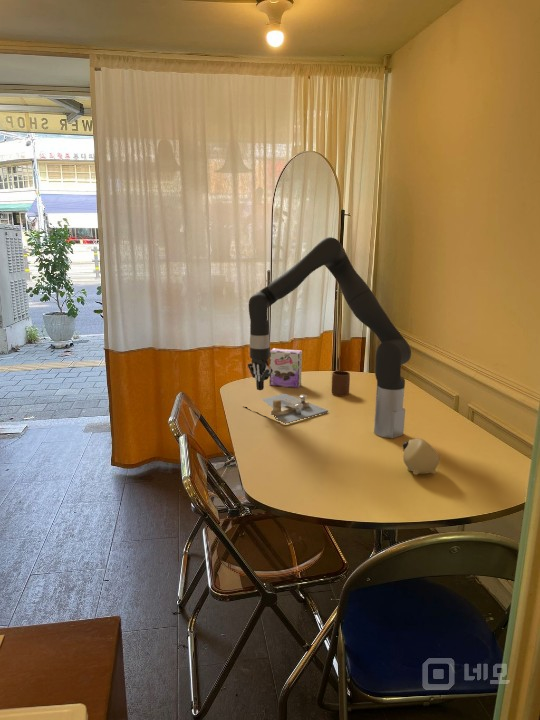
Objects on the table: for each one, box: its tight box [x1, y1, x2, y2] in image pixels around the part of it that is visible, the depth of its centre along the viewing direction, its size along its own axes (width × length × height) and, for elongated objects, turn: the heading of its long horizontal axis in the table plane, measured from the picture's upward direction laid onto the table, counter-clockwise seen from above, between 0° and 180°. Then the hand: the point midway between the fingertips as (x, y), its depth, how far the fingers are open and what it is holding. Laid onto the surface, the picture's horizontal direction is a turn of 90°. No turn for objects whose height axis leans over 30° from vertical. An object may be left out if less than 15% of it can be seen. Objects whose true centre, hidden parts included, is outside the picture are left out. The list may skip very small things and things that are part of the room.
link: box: [271, 399, 310, 417], centre depth 193 cm, size 18×5×6 cm, turn 132°
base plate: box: [260, 393, 329, 424], centre depth 197 cm, size 26×22×1 cm
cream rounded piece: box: [402, 437, 440, 476], centre depth 146 cm, size 10×12×11 cm
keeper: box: [281, 394, 308, 415], centre depth 194 cm, size 10×10×4 cm
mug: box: [331, 369, 351, 397], centre depth 218 cm, size 12×8×9 cm, turn 6°
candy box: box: [268, 347, 303, 389], centre depth 226 cm, size 14×6×16 cm, turn 73°
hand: (260, 389), depth 193 cm, fingers closed
